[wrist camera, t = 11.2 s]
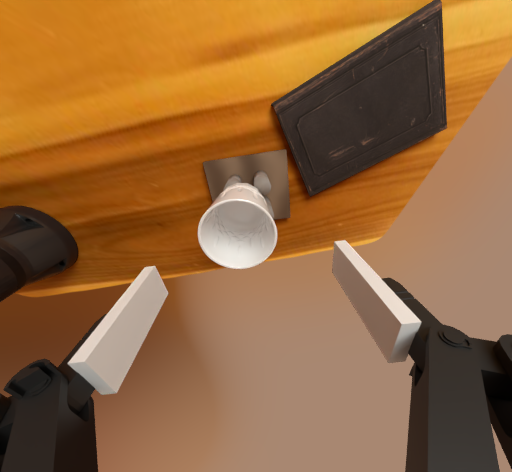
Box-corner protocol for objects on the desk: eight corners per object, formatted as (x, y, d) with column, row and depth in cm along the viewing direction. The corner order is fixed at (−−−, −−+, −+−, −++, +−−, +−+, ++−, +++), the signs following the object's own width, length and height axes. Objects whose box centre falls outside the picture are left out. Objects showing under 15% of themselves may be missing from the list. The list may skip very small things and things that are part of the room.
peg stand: (220, 224, 38) (212, 245, 30) (204, 161, 32) (190, 168, 25) (288, 214, 37) (298, 233, 30) (285, 149, 32) (295, 152, 24)
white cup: (278, 194, 27) (292, 222, 18) (253, 237, 30) (254, 279, 21) (228, 167, 25) (216, 183, 16) (206, 216, 28) (186, 252, 19)
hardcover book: (434, 128, 31) (447, 128, 29) (306, 193, 36) (310, 196, 34) (426, 6, 25) (441, -6, 23) (270, 105, 29) (272, 102, 27)
